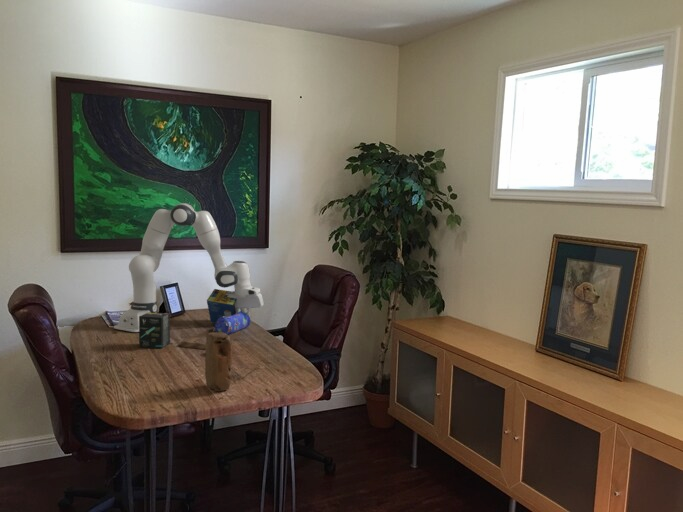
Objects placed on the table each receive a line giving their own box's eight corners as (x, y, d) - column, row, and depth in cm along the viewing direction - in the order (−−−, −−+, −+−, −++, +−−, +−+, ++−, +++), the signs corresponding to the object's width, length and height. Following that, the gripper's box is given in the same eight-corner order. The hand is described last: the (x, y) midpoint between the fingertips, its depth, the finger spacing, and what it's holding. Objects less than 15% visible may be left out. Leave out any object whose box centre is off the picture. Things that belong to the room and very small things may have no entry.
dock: (180, 346, 257) (180, 341, 256) (211, 332, 285) (211, 327, 284) (213, 350, 253) (213, 345, 252) (240, 335, 281) (240, 330, 280)
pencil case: (226, 337, 276) (227, 318, 275) (212, 335, 280) (213, 316, 279) (251, 328, 296) (251, 310, 295) (238, 326, 300) (238, 309, 299)
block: (203, 384, 207) (204, 331, 205) (222, 381, 211) (223, 329, 209) (213, 393, 198) (214, 338, 196) (233, 390, 202) (234, 336, 200)
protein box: (218, 310, 312) (214, 288, 303) (243, 314, 309) (240, 292, 300) (210, 322, 304) (206, 300, 295) (236, 326, 300) (233, 304, 292)
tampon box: (170, 343, 261) (170, 313, 259) (162, 349, 252) (162, 317, 250) (147, 342, 262) (147, 311, 260) (138, 347, 253) (138, 315, 251)
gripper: (222, 292, 296) (225, 318, 297) (258, 291, 291) (261, 317, 292) (227, 290, 302) (231, 315, 303) (263, 288, 297) (265, 314, 298)
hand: (246, 316), depth 298 cm, fingers closed
